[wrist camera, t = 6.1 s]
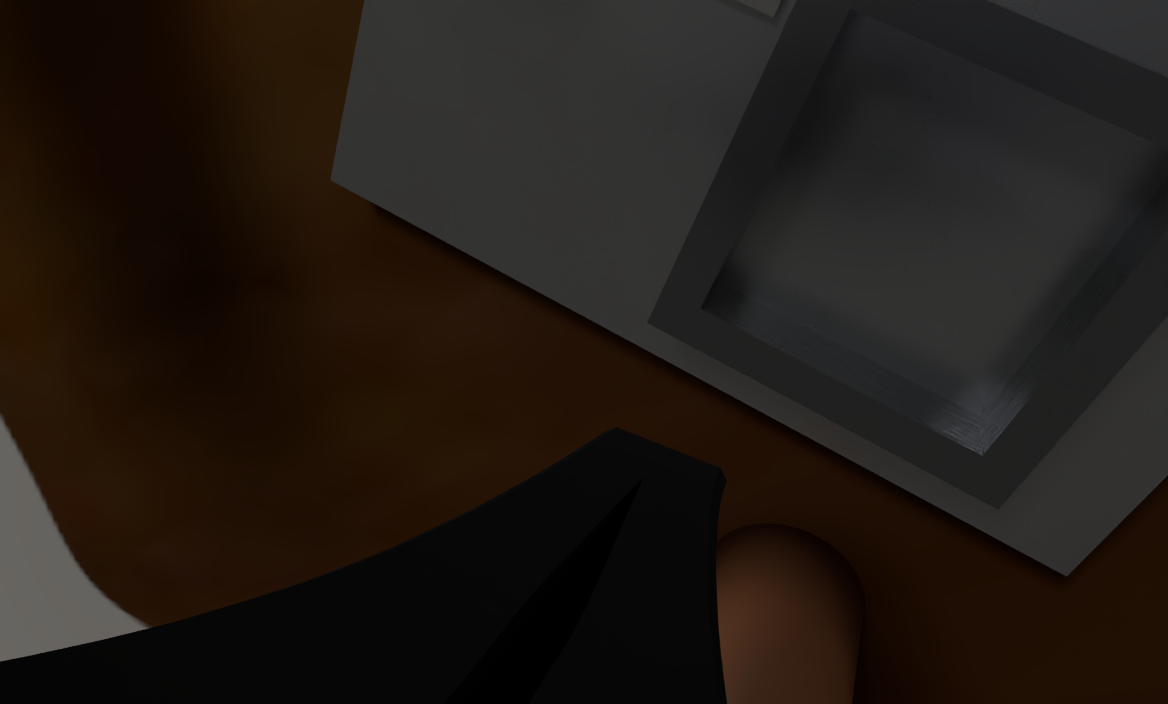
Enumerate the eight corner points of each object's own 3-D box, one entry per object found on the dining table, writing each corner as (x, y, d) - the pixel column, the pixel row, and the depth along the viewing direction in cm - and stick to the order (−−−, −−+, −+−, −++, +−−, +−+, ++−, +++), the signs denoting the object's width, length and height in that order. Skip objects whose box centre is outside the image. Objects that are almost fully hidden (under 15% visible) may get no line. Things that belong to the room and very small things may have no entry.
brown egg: (897, 581, 19) (878, 799, 14) (815, 678, 21) (774, 899, 16) (744, 495, 20) (675, 675, 15) (679, 599, 22) (600, 787, 17)
